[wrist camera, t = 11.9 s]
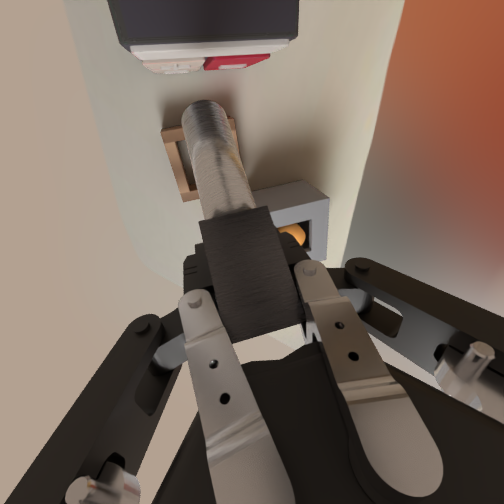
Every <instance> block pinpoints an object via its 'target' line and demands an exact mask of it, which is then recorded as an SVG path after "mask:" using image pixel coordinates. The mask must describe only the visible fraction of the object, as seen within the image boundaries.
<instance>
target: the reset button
mask: <svg viewBox="0 0 504 504" xmlns="http://www.w3.org/2000/svg"><path fill="white" fill-rule="evenodd" d="M277 229H278V231H279V232H280V233H282V232H288V233H290V234H292V235H293V236H294V237H295V239H296V240H297V241H298V242H299V244H300V246H301V245H302V244H303V243H304V241H305V232H304V231H303V229H302V228H301V227H300V226H299V225H298V224H297V223H294V224H290V225H286V226H282V227H278V228H277Z"/></svg>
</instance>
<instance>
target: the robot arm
mask: <svg viewBox="0 0 504 504" xmlns="http://www.w3.org/2000/svg"><path fill="white" fill-rule="evenodd" d="M274 226H275V225H274ZM275 229H276V232H277V235H278V238H279V241H280V244H281V247H282V249H283V252H284V255H285V258H286V261H287V264H288V267H289V270H290V273H291V276H292V278H293V281H294V284H295V287H296V290H297V293H298V296H299V299H300V302H301V305H302V307H303V310H304V313H305V316H306V322H303V323H300V328H301V331H302V335H303V338H304V342H305V345H303V346H302V347H300V348H299V349H297V350H296V351H294V352H292V353H291V354H289V355H288V356H286V357H284V358H283V359H280V360H267V361H251V362H248V363H245V364H242V365H240V362H239V360H238V358H237V355H236V353H235V351H234V348H233V346H232V343H231V341H230V339H229V336H228V334H227V331H226V329H225V327H224V326H223V324H222V321H221V316H220V312H219V308H218V303H217V299H216V295H215V291H214V286H213V282H212V278H211V273H210V269H209V265H208V260H207V256H206V252H205V247H204V243H200V244H195V253H196V254H194V255H190V256H187V257H186V259H185V261H184V263H183V270H184V271H183V275H184V295H183V297H181V299H180V300H179V303H178V308H177V309H175V310H174V311H173V312H171V313H169V314H168V315H166V316H164V317H162V318H159V317H158V316H156V315H154V314H146V315H143V316H141V317H139V318H137V319H135V320H134V321H133V322H131V323H130V324H129V325H128V327H127V328H126V330H125V331H124V333H123V334H122V335H121V337H120V338H119V340H118V341H117V342H116V344H115V345H114V347H113V348H112V350H111V351H110V352H109V354H108V355H107V357H106V358H105V360H104V361H103V363H102V364H101V365H100V367H99V368H98V370H97V371H96V373H95V374H94V376H93V377H92V378H91V380H90V381H89V383H88V384H87V385H86V387H85V388H84V390H83V391H82V393H81V394H80V396H79V397H78V398H77V400H76V401H75V403H74V404H73V406H72V407H71V409H70V410H69V411H68V413H67V414H66V416H65V417H64V418H63V420H62V422H61V423H60V425H59V426H58V427H57V429H56V430H55V432H54V433H53V434H52V436H51V437H50V439H49V440H48V442H47V443H46V444H45V446H44V447H43V449H42V450H41V451H40V453H39V455H38V456H37V457H36V459H35V460H34V462H33V463H32V464H31V466H30V467H29V469H28V470H27V472H26V473H25V474H24V476H23V477H22V479H21V480H20V482H19V483H18V485H17V486H16V488H15V489H14V490H13V492H12V493H11V495H10V496H9V497H8V499H7V500H6V502H5V503H4V504H139V501H140V485H139V482H138V479H137V478H136V475H137V472H138V470H139V468H140V465H141V463H142V460H143V458H144V456H145V453H146V451H147V448H148V446H149V444H150V441H151V439H152V436H153V434H154V432H155V429H156V427H157V424H158V422H159V420H160V417H161V415H162V413H163V410H164V408H165V405H166V403H167V401H168V398H169V396H170V393H171V391H172V389H173V386H174V384H175V381H176V379H177V376H178V374H179V372H180V370H181V367H182V363H183V362H185V361H187V360H188V365H189V369H190V373H191V378H192V383H193V387H194V392H195V396H196V401H197V405H198V412H197V414H196V416H195V418H194V420H193V422H192V424H191V426H190V428H189V430H188V432H187V434H186V436H185V438H184V440H183V442H182V444H181V446H180V448H179V450H178V452H177V454H176V456H175V458H174V460H173V462H172V464H171V466H170V468H169V470H168V472H167V474H166V476H165V478H164V480H163V482H162V484H161V486H160V488H159V490H158V492H157V494H156V496H155V498H154V500H153V501H152V503H151V504H504V317H501V316H499V315H496V314H494V313H492V312H490V311H487V310H485V309H483V308H481V307H478V306H476V305H474V304H471V303H469V302H467V301H464V300H462V299H459V298H458V297H455V296H453V295H450V294H448V293H446V292H444V291H442V290H439V289H437V288H435V287H432V286H430V285H428V284H425V283H423V282H421V281H419V280H416V279H414V278H412V277H409V276H407V275H405V274H402V273H400V272H398V271H396V270H393V269H391V268H389V267H386V266H384V265H382V264H379V263H377V262H375V261H373V260H370V259H367V258H352V259H350V260H348V261H347V262H346V264H345V268H326V267H325V266H324V265H323V264H322V263H321V262H319V261H316V260H312V259H311V258H310V257H309V255H308V254H307V253H306V251H305V250H304V249H303V248H302V246H300V244H299V242H298V241H297V240H296V239H295V237H294V236H293V235H292V234H290V233H288V232H282V233H280V232H279V231H278V229H277V228H276V226H275ZM374 297H376V298H377V299H379V300H381V301H383V302H385V303H387V304H389V305H391V306H392V307H394V308H396V309H397V310H398V311H400V313H401V314H402V316H403V317H402V316H400V315H398V314H397V313H395V312H393V311H391V310H389V309H388V308H386V307H384V306H382V305H380V304H379V303H377V302H375V301H374ZM368 333H370V334H371V335H373V336H374V337H376V338H377V339H379V340H380V341H382V342H383V343H385V344H386V345H388V346H389V347H391V348H392V349H394V350H395V351H397V352H398V353H400V354H401V355H403V356H404V357H406V358H407V359H409V360H410V361H412V362H413V363H415V364H416V365H418V366H419V367H421V368H423V369H424V370H426V371H427V372H429V373H430V374H432V375H433V376H435V378H436V381H437V383H438V384H439V386H440V387H441V391H440V390H438V389H436V388H434V387H432V386H430V385H428V384H426V383H424V382H423V381H421V380H419V379H417V378H415V377H413V376H411V375H409V374H407V373H405V372H403V371H401V370H399V369H397V368H396V367H394V366H392V365H390V364H388V363H386V362H384V361H383V360H382V358H381V356H380V355H379V352H378V351H377V349H376V347H375V345H374V343H373V342H372V340H371V338H370V336H369V334H368Z"/></svg>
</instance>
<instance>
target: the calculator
mask: <svg viewBox="0 0 504 504" xmlns="http://www.w3.org/2000/svg"><path fill="white" fill-rule="evenodd" d="M107 2H108V5H109V9H110V12H111V16H112V19H113V23H114V26H115V30H116V33H117V36H118V40H119V43H120V44H121V45H122V46H123V47H124V48H125V49H127V50H128V51H129V52H130V53H132V54H133V55H134V56H135V57H137V58H138V59H139V60H141V61H142V64H143V65H144V66H145V67H147V68H148V69H150V70H151V71H152V72H154V73H156V74H157V73H164V74H174V73H189V71H199V69H200V68H201V66H202V65H203V66H204V70H220V69H236V68H246V67H248V66H250V65H253V64H255V63H258V62H260V61H263V60H265V59H267V58H269V57H270V53H274V52H276V51H278V50H281V49H283V48H285V47H287V46H289V41H291V40H293V39H295V38H296V37H297V36H298V19H299V0H107Z"/></svg>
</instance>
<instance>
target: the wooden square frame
mask: <svg viewBox="0 0 504 504" xmlns="http://www.w3.org/2000/svg"><path fill="white" fill-rule="evenodd" d="M227 119H228V122H229V125H230V128H231V131H232V134H233V137H234V140H235V143H236V146H237V149H238V153H239V148H238V142H237V135H236V129H235V123H234V118H232V117H230V116H229V117H227ZM160 133H161V136H162V139H163V142H164V145H165V148H166V151H167V154H168V157H169V160H170V163H171V166H172V169H173V172H174V176H175V179H176V182H177V185H178V188H179V191H180V194H181V197H182V200H183V202H187V201H191V200H196V199H200V198H199V193H198V189H197V185H196V183H194V184H189V182H188V179H187V176H186V172H185V169H184V165H183V162H182V159H181V155H180V152H179V149H178V145H177V142H176V141H181V140H185V136H184V131H183V127H182V125H181V126H175V127H170V128H165V129H162V130H161V132H160ZM239 156H240V154H239Z"/></svg>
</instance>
